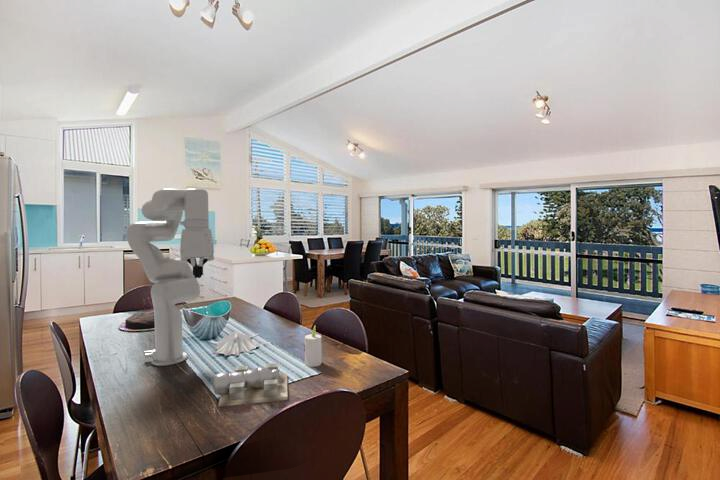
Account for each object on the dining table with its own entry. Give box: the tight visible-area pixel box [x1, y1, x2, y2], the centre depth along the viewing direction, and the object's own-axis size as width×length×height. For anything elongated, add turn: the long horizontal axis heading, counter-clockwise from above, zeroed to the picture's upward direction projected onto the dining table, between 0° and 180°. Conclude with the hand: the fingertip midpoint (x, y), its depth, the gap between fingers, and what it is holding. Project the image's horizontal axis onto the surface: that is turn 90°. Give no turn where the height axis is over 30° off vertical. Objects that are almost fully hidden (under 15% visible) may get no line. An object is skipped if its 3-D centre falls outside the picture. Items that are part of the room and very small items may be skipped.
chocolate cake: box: [118, 309, 155, 333], centre depth 192 cm, size 28×28×7 cm
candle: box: [303, 324, 322, 368], centre depth 139 cm, size 6×6×15 cm
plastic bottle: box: [212, 366, 280, 396], centre depth 116 cm, size 6×7×20 cm
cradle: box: [217, 363, 289, 408], centre depth 118 cm, size 20×18×5 cm
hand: (198, 277), depth 126 cm, fingers closed
